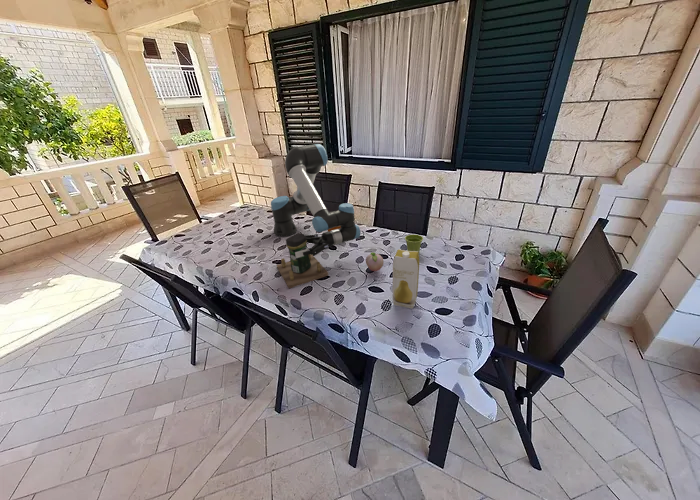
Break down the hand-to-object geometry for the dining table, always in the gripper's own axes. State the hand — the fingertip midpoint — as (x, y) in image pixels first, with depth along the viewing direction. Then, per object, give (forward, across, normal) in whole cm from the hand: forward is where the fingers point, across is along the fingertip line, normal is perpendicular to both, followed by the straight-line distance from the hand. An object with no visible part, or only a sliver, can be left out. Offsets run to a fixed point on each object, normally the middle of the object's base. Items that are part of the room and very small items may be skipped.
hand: (291, 249), depth 129 cm
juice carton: (-31, -47, -14) cm, 58 cm away
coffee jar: (-3, 0, -12) cm, 13 cm away
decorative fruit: (-34, -20, -14) cm, 42 cm away
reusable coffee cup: (-36, +26, -14) cm, 46 cm away
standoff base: (-3, 0, -14) cm, 14 cm away
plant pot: (-61, -16, -14) cm, 65 cm away
